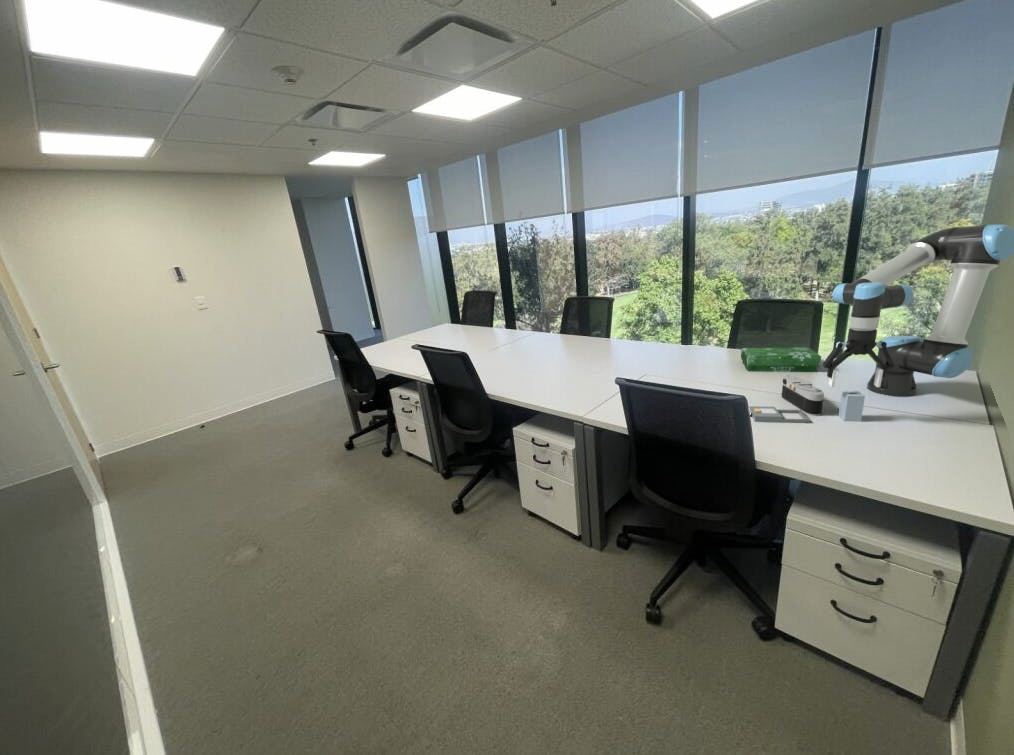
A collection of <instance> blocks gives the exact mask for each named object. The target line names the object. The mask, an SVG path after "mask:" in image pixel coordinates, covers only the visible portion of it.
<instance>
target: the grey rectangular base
mask: <svg viewBox="0 0 1014 755" xmlns="http://www.w3.org/2000/svg"><path fill="white" fill-rule="evenodd" d="M749 408H750V412H751V416H750V417H752V419H753V421H754V422H755V423H788V424H789V423H791V424H792V423H793V424H810V423H811V419H810V418H809V417H808V416H807V414H805V413H804V412H802V411H801V410H800V409H777V408H776V407H775V406H760V405H759V406H753V405H752V406H748V409H749ZM750 412H749V413H750ZM782 414H798V415H799V416H800V417H801V418H783V416H782Z"/></svg>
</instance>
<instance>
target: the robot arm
mask: <svg viewBox="0 0 1014 755" xmlns="http://www.w3.org/2000/svg"><path fill="white" fill-rule="evenodd" d="M1013 254H1014V227H1012V226H1010V225H1007V224H984V225H972V226H971V225H969V226H968V225H967V226H956V227H955V226H953V227H949V228H944V229H941V230H939V231H935V232H932V233H931V234H928V235H927V236H926V235H925V236H924V237H921V238H920V239H917V240H916V241H915V242H913V243H911V244H909V245H908V246H907V247H906V249H905V250H904V251H903V252H901V253H900V254H897V255H896V256H895V257H893V258H891V259H890V260H889V259H888V261H886V262H885V263H882V264H881V265H879V266H878V267H876V268H875V269H873V270H872V271H869V272H868V273H866V274H864V275H863V276H861V277H860V278H858V279H857V280H855V281H853V282H851V283H848V282H846V283H840V284H838V285H836V286H835V287H834V289H833V291H832V299H833V301H834V302H835V303H838V304H844V305H851V306H852V309H851V314H850V319H849V320H850V322H849V329H848V333H847V339H846V340H847V341H846V342H840V341H836V342H835V346H834V348H832V350H831V352H830V353H829V355H827V356H826V359H825V360H824V361H823V362H822V364H821V367H823V368H825V369H827V373H826V377H827V378H829V379H828V383H827V384H828V386H829V387H831V388H834V387H835V383H836V378H837V377H836V376H837V369H836V368H837V367H838V366H839V365H840V364H842V363H843V362H844V361H845V360H847V359H848V358H849V357H851V356H853V355H854V356H859V355H862V356H866V355H868V356H870V358H871V359H872V360H873V361H874V362H875V370H874V372H873V374H872V375H871V377H870V379H869V380H868V381H867V383H866V389H867V390H868V391H870V392H872V393H875V394H878V395H882V394H883V395H882V396H887V395H888V396H889V397H911V396H914V395H916V394H917V384H916V380H915V377H914V374H915V373H919V374H925V375H929V376H933V377H936V378H945V379H953V378H956V377H959V376H960V375H961V374H963V373H965V371H967V369H968V368H969V367H970V366H971V364H972V361H973V359H974V358H973V357H974V354H973V351H972V350H971V349H969V348H968V346H969V342H968V341H967V340H966V335H967V332H968V330H969V327H970V324H971V322H972V318H973V316H974V314H975V311H976V308H977V305H978V303H979V301H980V298H981V294H982V293H983V290H984V287H985V285H986V282H987V279H988V276H989V274H990V272H991V271H992V270H994V269H995V268H997V267H999V265H1000V263H1001V261H1004V260H1008V259H1009V258H1010V257H1012V255H1013ZM937 261H950V264H949V265H950V266H951V268H952V269H953V272H952V274H951V278H950V280H949V283H948V287H947V289H946V292H945V294H944V297H943V300H942V303H941V306H940V309H939V312H938V315H937V317H936V321H935V323H934V326H933V328H932V331H931V333H930V334H929V335H927V336H925V337H924V338H923V340H922V341H921V337H920V336H915V335H895V336H894V335H893V336H888V337H887V336H886V337H884V338H882V339H881V340H879V341H876V339H877V335H878V328H879V322H880V317H881V312H882V310H885V309H892V308H896V309H897V308H900V307H902V306H903V307H904V306H906V305H908V304H909V303H911V301H912V300H913V298H914V291H913V289H912V288H911V286H909V285H908V284H907V285H906V284H894V285H891V284H893V283H894V282H896V281H897V280H899V279H901V278H903V277H904V276H906V275H907V274H910V273H911V272H912V271H914V270H916V269H917V268H920V267H922V266H928V265H929V264H931V263H934V262H937ZM875 347H877V348H878V351H877V353H876V352H875V351H874V350H873V349H874V348H875ZM844 348H846V349H845V350H844V351H842V349H844ZM841 351H842V353H841ZM840 353H841V354H840ZM839 354H840V355H839Z"/></svg>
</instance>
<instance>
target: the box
mask: <svg viewBox="0 0 1014 755" xmlns="http://www.w3.org/2000/svg"><path fill="white" fill-rule="evenodd" d="M740 351H741V352H740V358H741V360H742V364H743V367H744V368H745V370H746V371H747V372H759V373H761V372H762V373H766V372H767V373H772V372H773V373H776V372H777V373H780V372H781V373H817V372H818V371H817V369H818V368H819V367H820V366H821V365H820V364H821V361H822V356H821V354H819V353H817V352H816V351H815V350H814V349H812V348H810V347H801V346H799V347H797V346H795V347H794V346H793V347H743V348H741V350H740Z"/></svg>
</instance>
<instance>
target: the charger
mask: <svg viewBox="0 0 1014 755" xmlns="http://www.w3.org/2000/svg"><path fill="white" fill-rule="evenodd" d="M865 398H866V396H865V394H863V393H861V392H860V391H858V390H845V391H844V390H843V391H841V395H840V402H839V409H838V417H839V418H840V419H841V420H842V421H844V422H861V421H862V416H863V410H864V404H865Z"/></svg>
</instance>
